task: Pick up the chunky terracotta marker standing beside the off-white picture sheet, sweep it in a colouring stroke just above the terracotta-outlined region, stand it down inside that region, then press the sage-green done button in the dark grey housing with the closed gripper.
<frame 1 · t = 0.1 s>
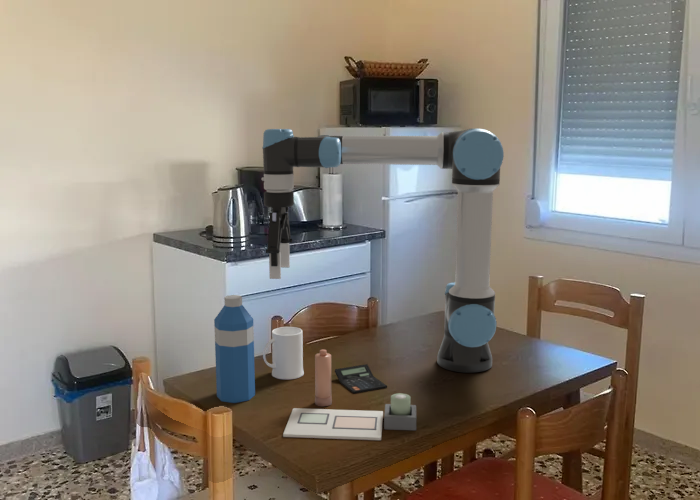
hand: (280, 272, 185), 28 cm above the table, fingers open, 13 cm apart
button housing: (400, 423, 161), on the table
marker: (323, 403, 172), on the table
calculator: (360, 384, 185), on the table
water bottle: (236, 396, 176), on the table
picture sheet: (335, 424, 160), on the table
done button: (400, 405, 160), point 4 cm above the table, slide at 0.0 cm
mug: (282, 375, 190), on the table
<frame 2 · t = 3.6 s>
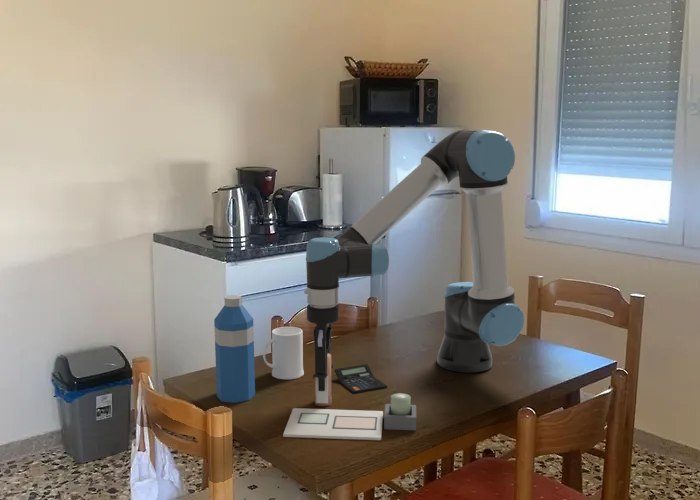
hand: (323, 398, 172), 1 cm above the table, fingers closed on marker, 4 cm apart
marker: (323, 403, 172), on the table, touching gripper
everything else where it was.
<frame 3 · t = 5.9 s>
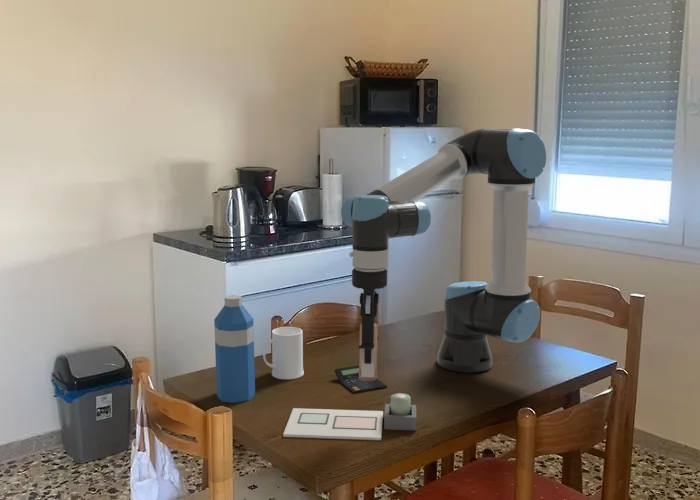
hand: (368, 372, 157), 12 cm above the table, fingers closed on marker, 4 cm apart
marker: (367, 377, 157), point 11 cm above the table, touching gripper
everything else where it was.
when the fingers open (2 cm above the table, at t = 8.7 s): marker stays where it is, resting on picture sheet.
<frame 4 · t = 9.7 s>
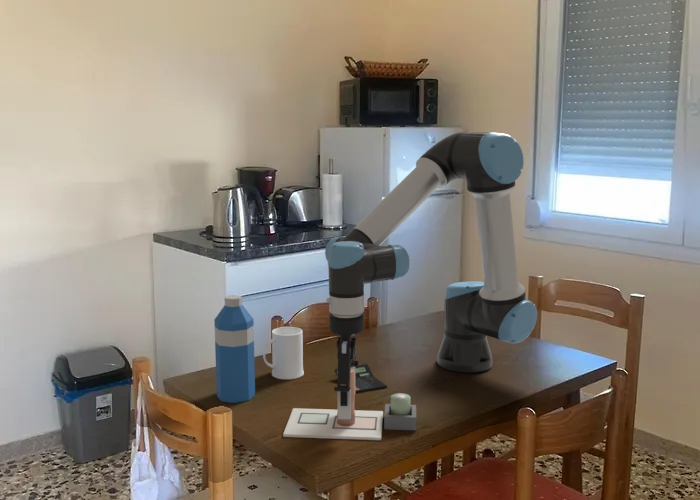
hand: (347, 405, 159), 4 cm above the table, fingers open, 13 cm apart
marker: (346, 422, 159), point 1 cm above the table, touching picture sheet
everything else where it was.
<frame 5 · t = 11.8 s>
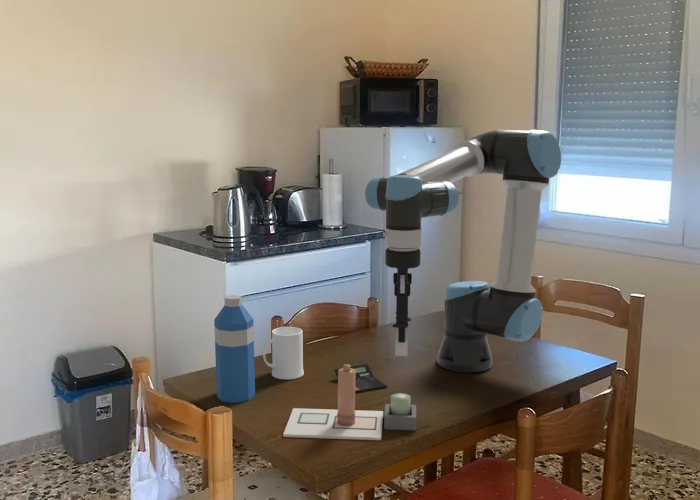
hand: (401, 352, 158), 17 cm above the table, fingers open, 3 cm apart
nothing on the table moved.
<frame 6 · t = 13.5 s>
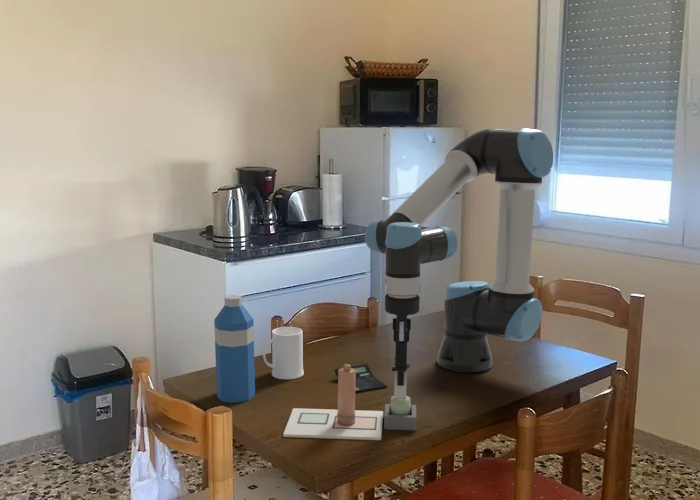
hand: (400, 397, 159), 6 cm above the table, fingers closed
done button: (400, 406, 160), point 4 cm above the table, slide at 0.4 cm, touching gripper
everything else where it was.
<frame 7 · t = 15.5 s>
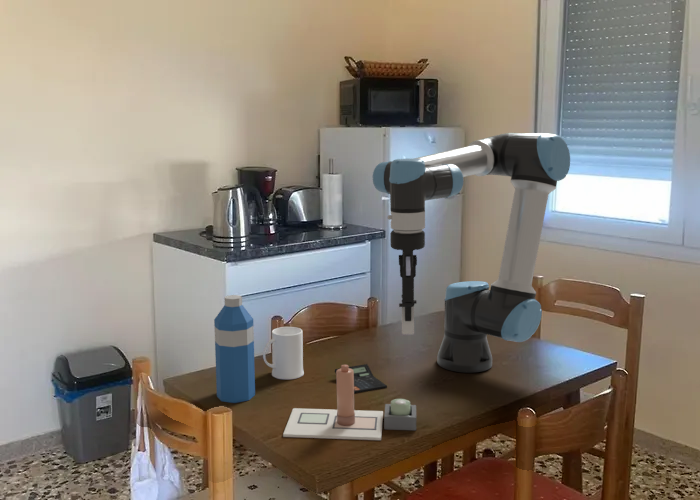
hand: (407, 333, 161), 20 cm above the table, fingers closed
done button: (400, 410, 160), point 3 cm above the table, slide at 1.3 cm
everything else where it was.
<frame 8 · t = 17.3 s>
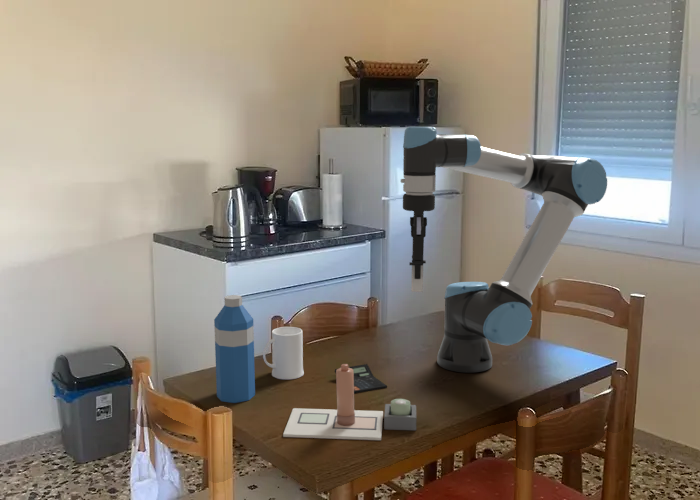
hand: (417, 291, 172), 26 cm above the table, fingers closed
nothing on the table moved.
at the end: done button slide at 1.3 cm; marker inside the target area (2.2 cm from its centre), point 0.7 cm above the table; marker tilted 2° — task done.
